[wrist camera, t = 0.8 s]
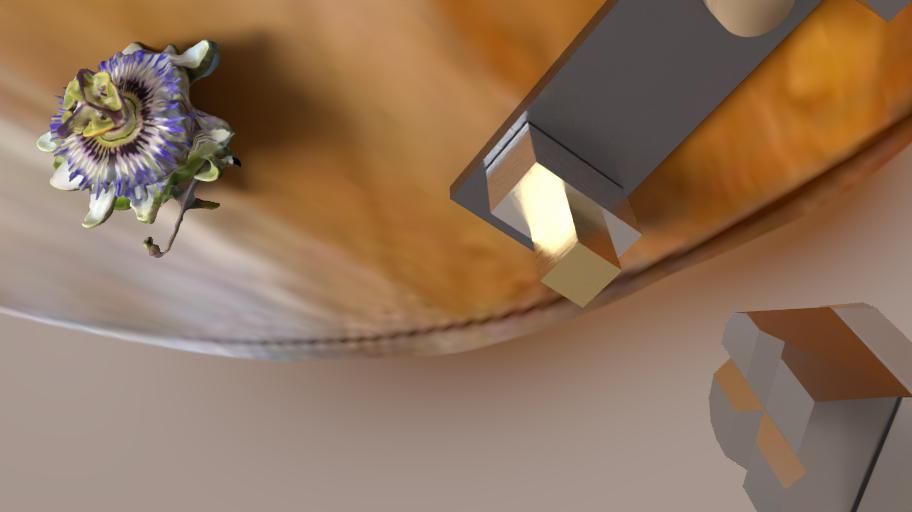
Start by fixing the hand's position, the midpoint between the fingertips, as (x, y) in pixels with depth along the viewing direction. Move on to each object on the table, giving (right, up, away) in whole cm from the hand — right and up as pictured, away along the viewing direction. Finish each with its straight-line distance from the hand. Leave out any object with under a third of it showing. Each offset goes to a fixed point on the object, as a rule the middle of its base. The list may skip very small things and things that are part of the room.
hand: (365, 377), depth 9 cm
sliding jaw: (+7, +6, +40) cm, 41 cm away
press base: (+12, +12, +38) cm, 42 cm away
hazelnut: (+16, +16, +34) cm, 41 cm away
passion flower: (-16, +10, +40) cm, 44 cm away
